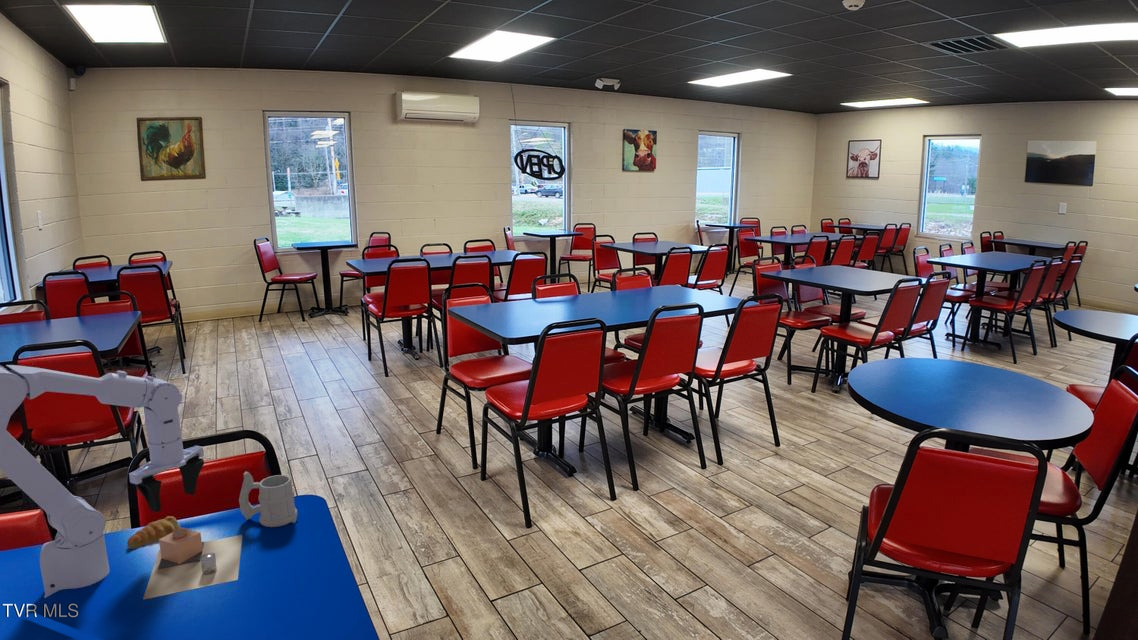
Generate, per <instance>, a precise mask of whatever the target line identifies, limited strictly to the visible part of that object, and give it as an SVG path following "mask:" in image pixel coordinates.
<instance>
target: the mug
mask: <svg viewBox="0 0 1138 640" xmlns="http://www.w3.org/2000/svg"><path fill="white" fill-rule="evenodd" d="M253 489H259V490H258V491H259V493H258V494H259V495H258V502H259V504H256V505H255V506H254V505H252V504H251V502H249V495H250V492H251V491H252V490H253ZM294 496H295V490H294V488H293V483H292V479H291V476H289V475H285V474H277V475H271V476H267V477H266V478H263V479H262V480H261V481H260V482H259V481H256V482H255V481H254V477H253V476H252V474H251V473H250V472H249V471H244V473H243V482H242V485H241V489H240V493H239V499H238V502H239V507H240V508H239V509H240V512H241V514H242V516H244V518H245V520H250V519H251V518H252V517H253V516H255V515H256V514H259V513H260V515H259V517H258V520H259V523H260V525H262V526H264V527H267V528H278V527H283V526H286V525H288V524H290V523H296V522H297V517H298V509H297V508H296V505H295V498H294Z"/></svg>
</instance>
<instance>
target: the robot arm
mask: <svg viewBox="0 0 1138 640" xmlns="http://www.w3.org/2000/svg"><path fill="white" fill-rule="evenodd" d="M5 366H6V367H7V368H6V367H4V366H3V365H0V471H1V472H2V473H3V474H4V475H5V476H7V478H9V479H10V480H11V482H13V483H14V484H15V485H16V486H17V487H19V489H20V490H22V491H23V492H24V493H25V494H26V495H27V496H28V497H29V498H30V499H32V501H34V503H36V504H37V505H38V506H39V507H40V508H41V509H42V510H43V511H44V512H45V513H46V515H47V516H46V517H47V521H48V524H49V525H50V526H51V527H52V528H53V529H55V530H57V532H56V534H55V537H54V540H52V541H48V542H45V543H43V545H42V547H41V550H40V554H39V566H40V567H39V568H40V572H41V578H42V584H43V588H44V589H43V590H44V595H43V597H44V599H46V598H48V597H50V596H51V595H53V594H54V593H56V592H59V591H62V590H67V589H68V590H69V589H79V588H85V587H88V586H91V585H93V584H96V583H99V582H100V581H102V580H103V579H104V578H105V577H107V576H108V575H109V574H110V565H109V564H110V563H109V559H108V552H107V546H106V541H105V540H106V539H105V534H104V530H105V528H106V522H107V521H106V518H105V517H106V516H105V515H104V514H103V513H102V512H100V511H99V510H96V509H95V508H94V507H92V506H91V505H90V504H89V503H88V501H86V500H85V499H84V498H83V497H81V496H77V495H74V494H72V493H71V492H70V491H69V489H67V488H66V487H65V486H64V485H63V484H62V483H61V482H60V481H59V480H58V479H57V478H56V477H55V476H54V475H53V474H52V473H51V472H50V471H48V469H47V468H45V466H43V464H41V463H40V461H39V460H37V459H36V458H35V456H33V455H32V453H30V451H28V450H27V449H26V448H25V447H24V446H23V445H22V444H21V443H20V442H19V441H18V440H17V439H16V438H15V437H14V436H13V435H11V433H10V432H9V431H8V430H7V427H8V425H9V421H10V418H11V416H12V415H13V414H14V413H15V412H16V410H17V409H18V408H19V407H20V405H21V404H22V403H23V402H24V400H25V398H28V399H29V400H33V399H35V398H37V397H38V396H41V395H43V394H44V393H45V392H48V393H49V392H50V393H62V394H71V395H72V394H74V395H82V396H83V395H85V396H94V397H95V398H96V399H97V400H98V402H99V403H101V404H103V405H112V406H120V407H130V408H137V409H138V408H139V409H140V408H143V413H144V422H145V430H146V436H147V437H146V438H147V445H148V451H149V459H150V461H148V462H146V464H144V465H142V466H140V467H138V468H137V469H136V470H134V471H132V472H129V473H128V476H129V482H130V484H132V485H133V486H134V487H135V488H136V489H137V490H138V491H139V492H140V494H141V495H142V496H143V498H144V499H145V501H146V503H147V505H148V508H149V510H150V511H151V512H155V513H159V512H161V511H162V504H161V503H162V502H161V486H162V481H161V480H158V479H156V477H154V476H156V475H158V474H161V473H163V472H166V471H168V470H171V469H174V468H178V469H179V471H180V475H181V477H182V478H181V479H182V486H183V491H184V493H185V495H190V496H194V495H195V494H196V489H197V484H198V480H199V476H200V474H201V470H202V469H203V467H204V465H205V460H204V458H202V457H204V456H205V453H204V447H203V446H200V445H194V446H191V447H188V448H185V449H184V444H183V437H182V428H181V421H180V414H179V408H178V407H179V406H180V404H181V403H182V401H183V394H182V393H181V392H180V390H179V388H178V387H177V386H176V385H175V384H173V383H171V382H169V381H166V380H164V379H161V378H157V377H155V376H149V375H145V377H141V376H133V375H128V372H126V371H124V370H117V371H116V373H115V372H114V373H113V372H108V373H105V374H104V375H102V376H101V377H93V376H88V375H81V374H75V373H71V372H65V371H59V370H54V369H53V370H52V369H46V368H42V367H41V368H40V367H35V366H26V365H17V364H15V365H14V364H6V365H5ZM8 368H9V369H10V370H8Z"/></svg>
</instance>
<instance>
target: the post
mask: <svg viewBox="0 0 1138 640" xmlns="http://www.w3.org/2000/svg"><path fill="white" fill-rule="evenodd" d="M201 565H202V573H203V574H204V575H210V574H213V573H215V572H216V571H217V566H216V557H215V553H212V552H210V553H206V554H204V555H202V556H201Z"/></svg>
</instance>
